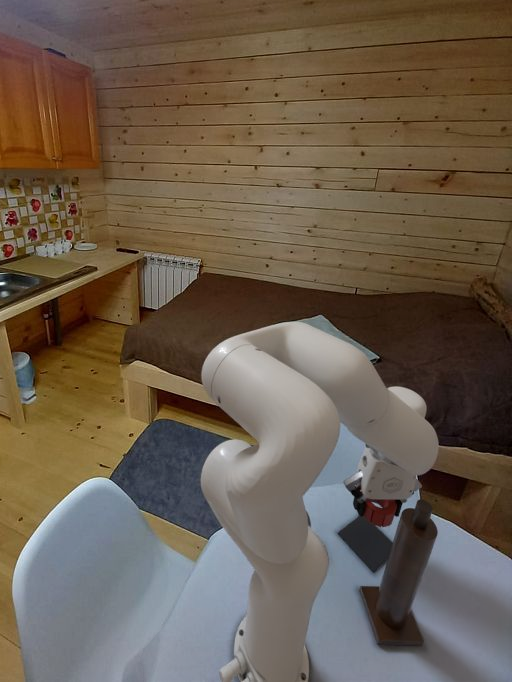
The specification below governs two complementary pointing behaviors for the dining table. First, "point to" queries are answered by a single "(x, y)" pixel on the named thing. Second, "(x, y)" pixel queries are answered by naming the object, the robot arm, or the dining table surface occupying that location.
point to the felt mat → (367, 542)
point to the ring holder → (401, 579)
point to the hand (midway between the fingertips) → (375, 509)
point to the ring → (380, 511)
